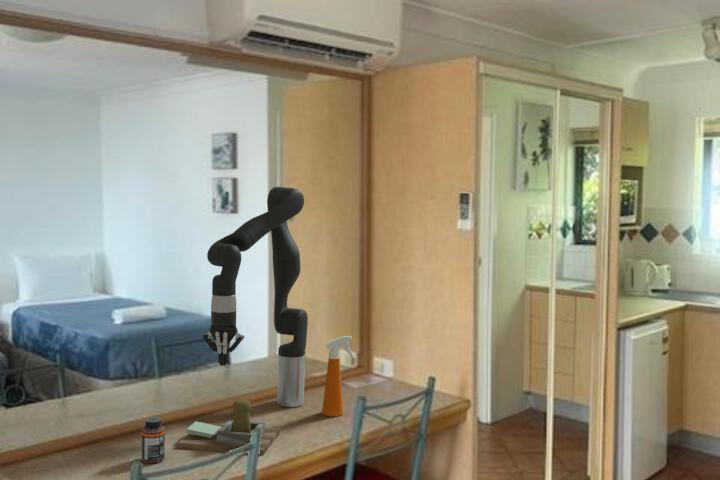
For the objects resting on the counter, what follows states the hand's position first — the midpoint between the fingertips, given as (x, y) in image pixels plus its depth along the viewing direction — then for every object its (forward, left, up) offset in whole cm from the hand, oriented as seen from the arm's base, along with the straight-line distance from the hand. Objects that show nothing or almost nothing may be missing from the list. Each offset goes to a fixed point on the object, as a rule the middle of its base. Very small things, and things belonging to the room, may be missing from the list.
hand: (223, 365), depth 216 cm
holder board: (+9, +6, -20) cm, 23 cm away
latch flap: (+10, -2, -18) cm, 20 cm away
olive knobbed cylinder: (+10, +9, -19) cm, 23 cm away
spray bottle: (-23, +32, -20) cm, 44 cm away
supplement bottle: (+28, -10, -20) cm, 36 cm away
